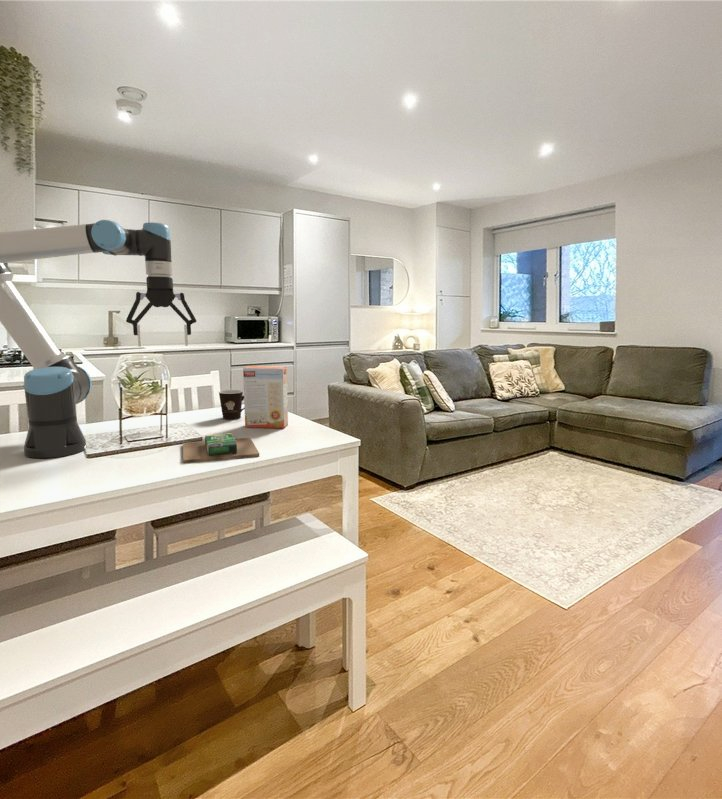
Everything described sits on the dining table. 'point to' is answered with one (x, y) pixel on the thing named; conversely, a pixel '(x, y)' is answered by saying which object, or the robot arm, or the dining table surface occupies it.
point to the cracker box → (265, 396)
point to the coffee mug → (231, 404)
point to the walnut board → (199, 454)
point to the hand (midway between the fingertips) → (163, 345)
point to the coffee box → (220, 444)
